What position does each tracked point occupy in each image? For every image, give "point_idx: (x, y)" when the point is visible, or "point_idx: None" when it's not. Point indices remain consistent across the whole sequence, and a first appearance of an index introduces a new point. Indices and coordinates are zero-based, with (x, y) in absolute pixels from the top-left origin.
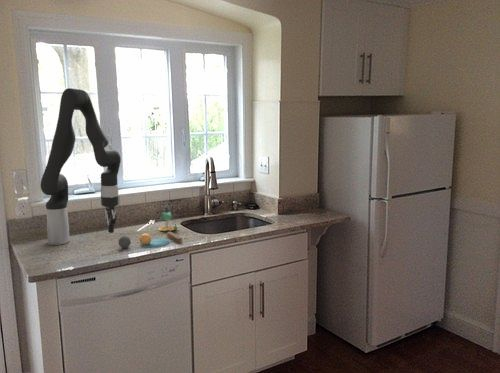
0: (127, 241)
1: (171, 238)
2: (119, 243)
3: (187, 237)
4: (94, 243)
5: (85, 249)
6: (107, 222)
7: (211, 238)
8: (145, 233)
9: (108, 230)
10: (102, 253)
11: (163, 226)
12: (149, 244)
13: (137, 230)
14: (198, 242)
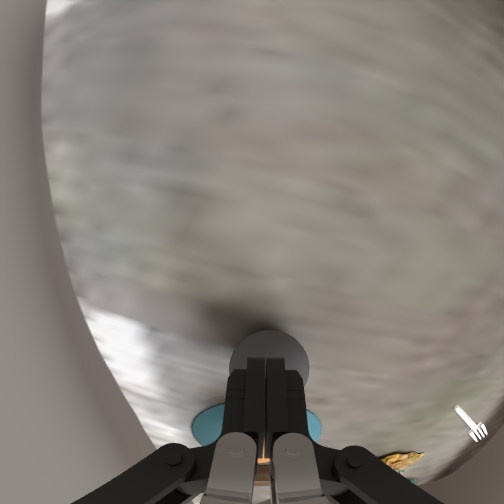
0: None
1: (266, 468)
2: (259, 340)
3: None
4: (470, 218)
5: (395, 123)
6: (288, 454)
7: None
8: (259, 461)
9: (263, 371)
10: (225, 199)
11: (416, 458)
12: None
13: (457, 407)
14: None
